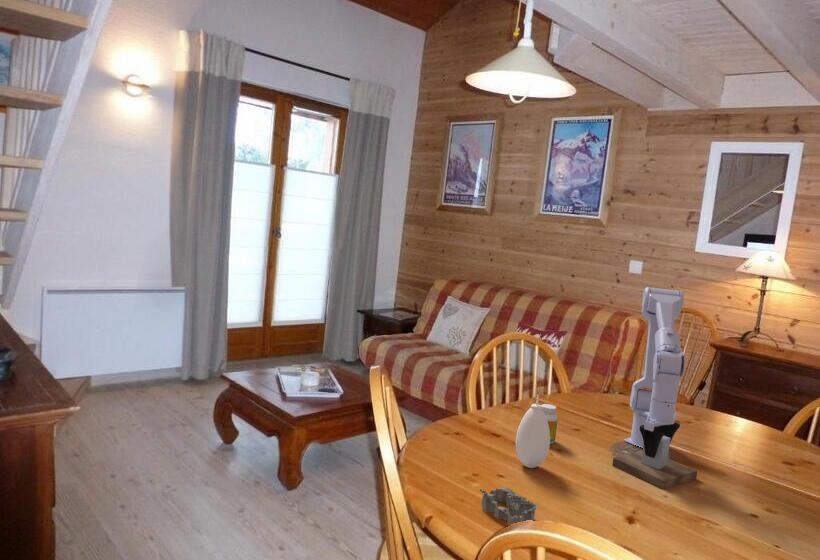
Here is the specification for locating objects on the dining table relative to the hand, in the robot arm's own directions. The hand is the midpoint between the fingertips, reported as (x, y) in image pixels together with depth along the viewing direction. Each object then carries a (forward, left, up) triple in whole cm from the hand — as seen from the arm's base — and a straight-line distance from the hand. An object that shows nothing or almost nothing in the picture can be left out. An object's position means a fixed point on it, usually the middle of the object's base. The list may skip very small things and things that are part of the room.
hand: (656, 453), depth 145 cm
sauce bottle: (+28, -15, -5) cm, 32 cm away
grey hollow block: (+49, 0, -5) cm, 50 cm away
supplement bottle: (+11, -26, -5) cm, 29 cm away
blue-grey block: (0, 0, -3) cm, 3 cm away
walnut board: (0, 0, -5) cm, 5 cm away
